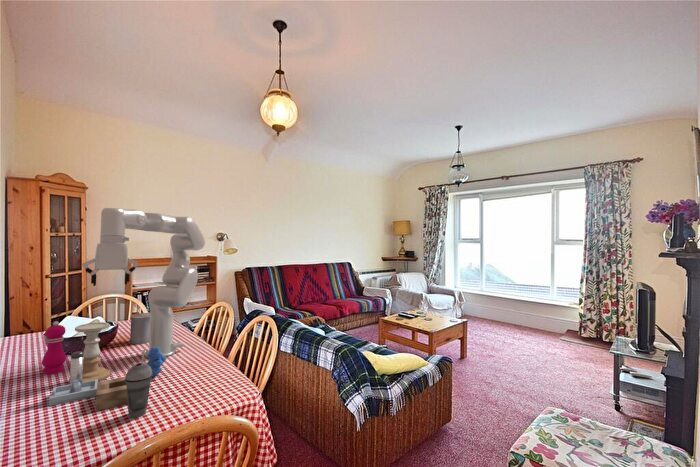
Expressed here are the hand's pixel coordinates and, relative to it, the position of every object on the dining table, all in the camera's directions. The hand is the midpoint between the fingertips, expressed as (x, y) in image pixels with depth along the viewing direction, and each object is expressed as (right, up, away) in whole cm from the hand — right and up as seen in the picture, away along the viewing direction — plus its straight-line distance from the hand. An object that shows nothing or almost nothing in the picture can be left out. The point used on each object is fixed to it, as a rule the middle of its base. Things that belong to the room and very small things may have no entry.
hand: (110, 284), depth 122 cm
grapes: (+15, -37, +4) cm, 40 cm away
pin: (-2, -35, -13) cm, 37 cm away
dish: (-2, -36, -13) cm, 38 cm away
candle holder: (-8, -36, 0) cm, 37 cm away
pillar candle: (-17, -37, +44) cm, 60 cm away
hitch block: (+13, -37, -14) cm, 41 cm away
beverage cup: (+26, -37, -23) cm, 51 cm away
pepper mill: (-27, -36, +5) cm, 45 cm away
